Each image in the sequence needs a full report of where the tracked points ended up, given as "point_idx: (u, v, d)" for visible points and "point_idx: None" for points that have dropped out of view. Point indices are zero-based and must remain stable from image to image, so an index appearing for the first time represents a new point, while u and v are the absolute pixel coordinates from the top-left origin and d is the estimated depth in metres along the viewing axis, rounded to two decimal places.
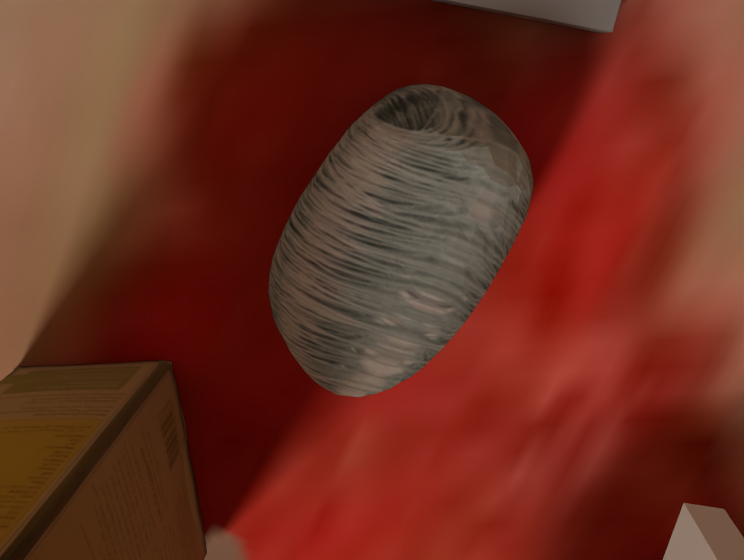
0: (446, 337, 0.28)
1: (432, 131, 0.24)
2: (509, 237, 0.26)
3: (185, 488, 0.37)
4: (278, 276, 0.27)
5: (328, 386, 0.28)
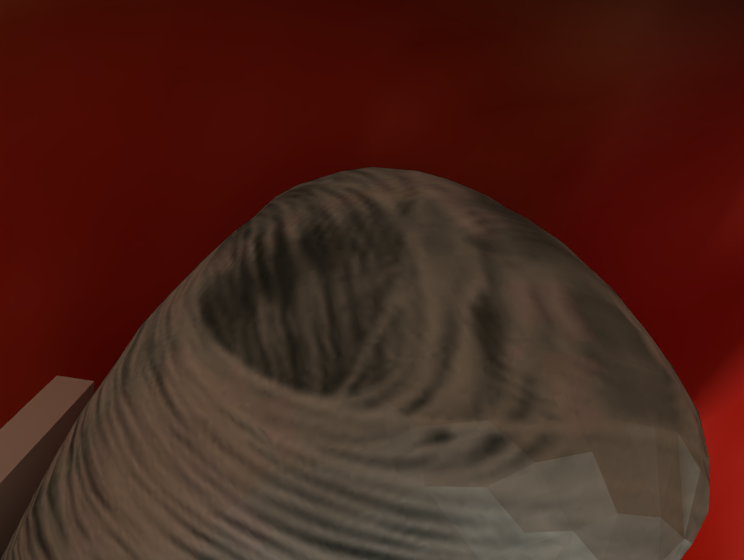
0: None
1: (376, 400, 0.06)
2: None
3: None
4: None
5: None
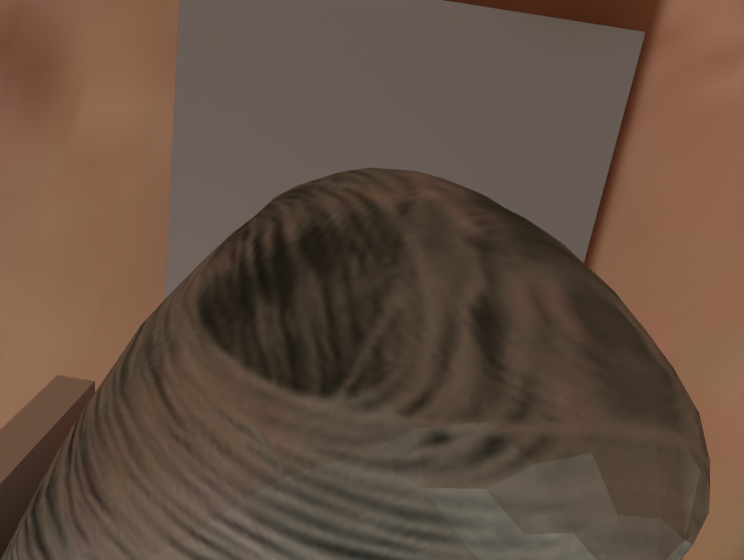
0: None
1: (375, 403, 0.06)
2: None
3: None
4: None
5: None
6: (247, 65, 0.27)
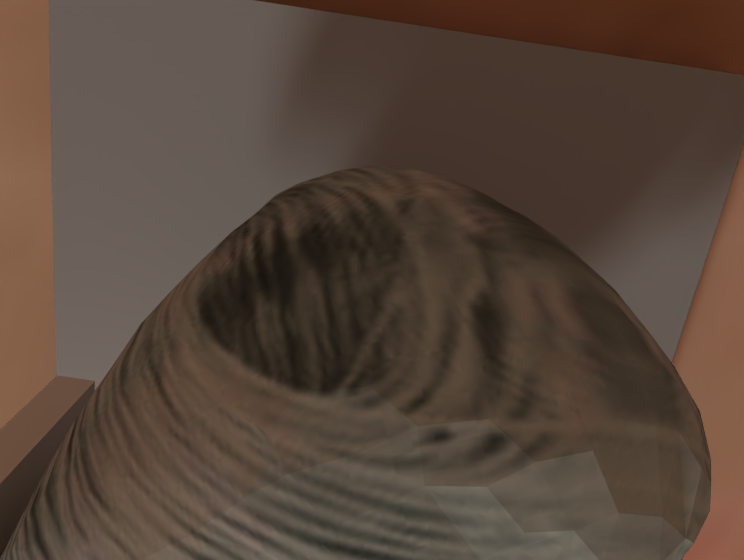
0: None
1: (375, 401, 0.06)
2: None
3: None
4: None
5: None
6: (157, 127, 0.18)
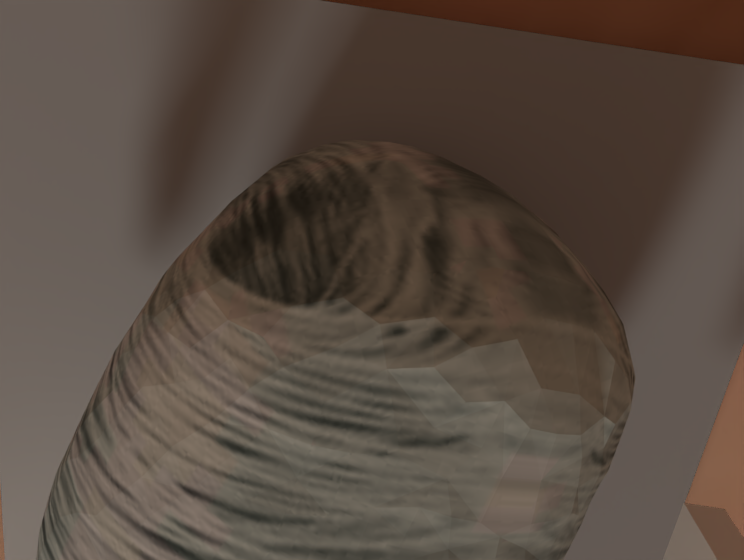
0: None
1: (347, 308, 0.08)
2: (585, 511, 0.10)
3: None
4: None
5: None
6: (106, 138, 0.15)
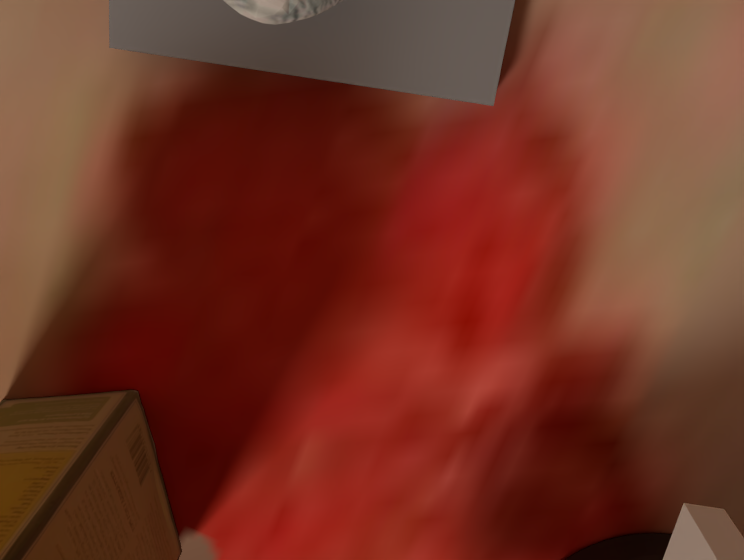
0: None
1: None
2: None
3: (157, 498, 0.42)
4: None
5: None
6: None
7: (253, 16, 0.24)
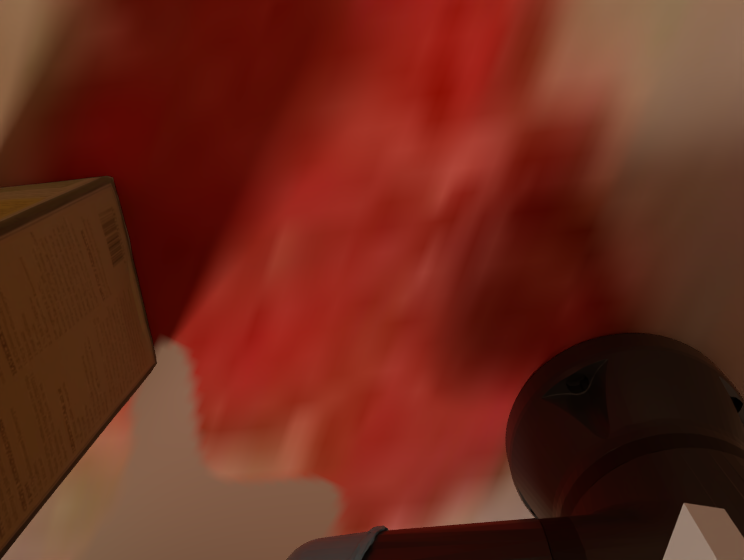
0: None
1: None
2: None
3: (131, 294, 0.42)
4: None
5: None
6: None
7: None
